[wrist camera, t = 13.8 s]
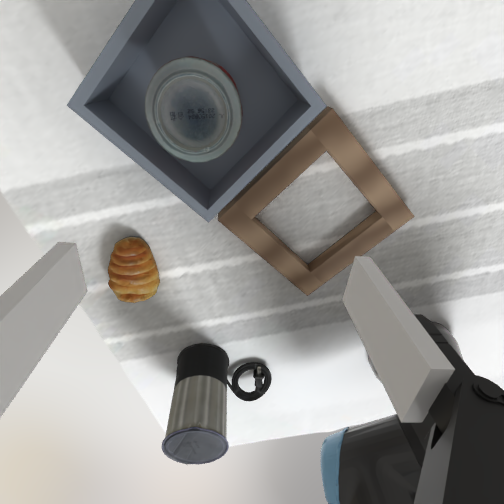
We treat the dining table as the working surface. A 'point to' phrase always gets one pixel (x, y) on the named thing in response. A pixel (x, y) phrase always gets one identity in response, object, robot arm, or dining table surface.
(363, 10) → the dining table surface
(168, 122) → the soda can
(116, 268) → the pastry
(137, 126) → the bin
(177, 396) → the milk frother
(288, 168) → the collar block
